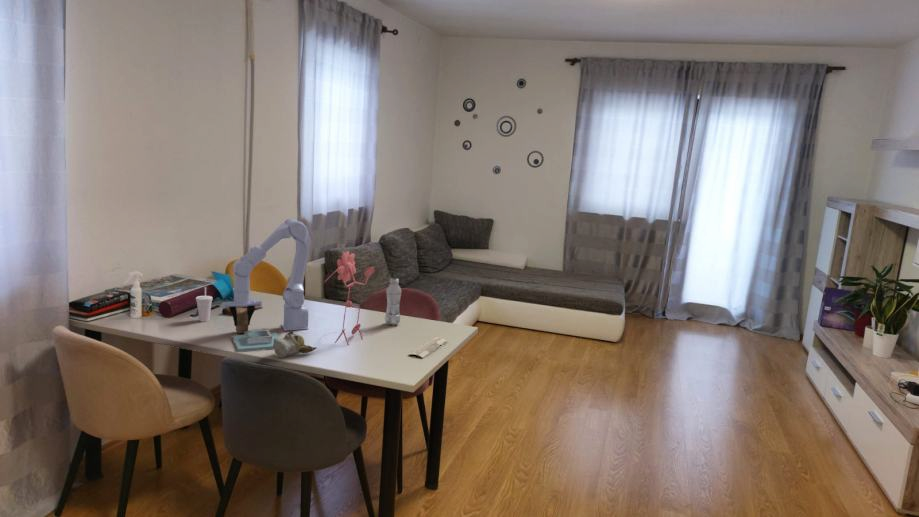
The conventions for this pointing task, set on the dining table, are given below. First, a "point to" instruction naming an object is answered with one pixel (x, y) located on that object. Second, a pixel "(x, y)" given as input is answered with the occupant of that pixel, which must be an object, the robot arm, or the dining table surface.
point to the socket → (257, 337)
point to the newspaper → (428, 347)
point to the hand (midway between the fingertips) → (241, 325)
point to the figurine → (345, 272)
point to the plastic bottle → (393, 302)
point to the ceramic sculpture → (291, 345)
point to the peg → (242, 322)
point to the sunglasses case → (239, 309)
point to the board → (243, 346)
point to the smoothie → (204, 307)
